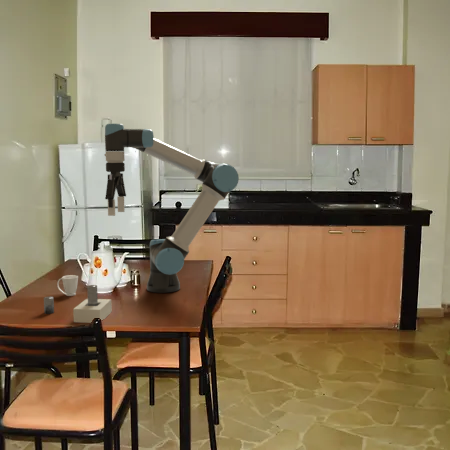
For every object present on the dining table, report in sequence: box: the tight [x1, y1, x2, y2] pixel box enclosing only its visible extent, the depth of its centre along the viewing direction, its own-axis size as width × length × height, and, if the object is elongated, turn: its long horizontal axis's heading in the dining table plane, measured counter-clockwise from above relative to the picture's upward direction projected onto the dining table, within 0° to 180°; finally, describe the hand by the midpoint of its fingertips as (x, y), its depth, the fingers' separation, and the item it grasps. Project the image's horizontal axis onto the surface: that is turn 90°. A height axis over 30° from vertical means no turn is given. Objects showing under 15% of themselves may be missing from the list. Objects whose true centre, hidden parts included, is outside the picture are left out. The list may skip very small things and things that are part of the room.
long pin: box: [86, 284, 99, 306], centre depth 204 cm, size 4×4×12 cm
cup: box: [56, 274, 79, 297], centre depth 237 cm, size 7×10×8 cm
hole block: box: [72, 298, 113, 324], centre depth 204 cm, size 10×14×5 cm
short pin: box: [43, 295, 55, 315], centre depth 210 cm, size 4×4×6 cm
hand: (116, 213), depth 223 cm, fingers open, 13 cm apart
